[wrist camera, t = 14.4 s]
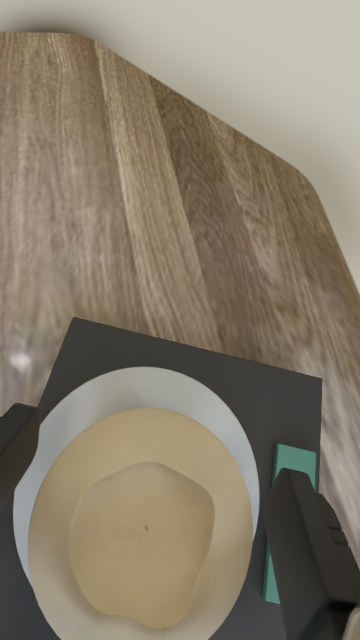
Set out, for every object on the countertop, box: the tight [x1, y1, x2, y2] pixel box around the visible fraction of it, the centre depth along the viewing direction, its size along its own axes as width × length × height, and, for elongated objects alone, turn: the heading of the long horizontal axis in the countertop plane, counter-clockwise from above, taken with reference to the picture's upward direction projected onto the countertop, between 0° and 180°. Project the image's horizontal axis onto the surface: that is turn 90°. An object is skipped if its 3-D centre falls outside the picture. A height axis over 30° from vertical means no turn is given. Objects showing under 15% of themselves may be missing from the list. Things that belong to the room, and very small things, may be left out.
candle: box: [27, 408, 253, 640], centre depth 11 cm, size 6×6×10 cm
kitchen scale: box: [0, 317, 322, 640], centre depth 17 cm, size 16×16×3 cm
